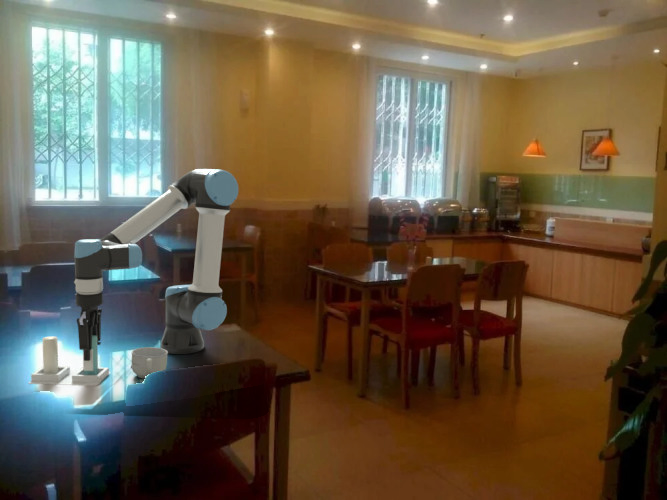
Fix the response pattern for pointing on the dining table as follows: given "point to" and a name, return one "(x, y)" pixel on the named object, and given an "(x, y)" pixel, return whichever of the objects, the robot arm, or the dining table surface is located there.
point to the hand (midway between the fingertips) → (90, 368)
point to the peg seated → (50, 355)
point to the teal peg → (94, 357)
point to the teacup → (148, 360)
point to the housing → (68, 377)
